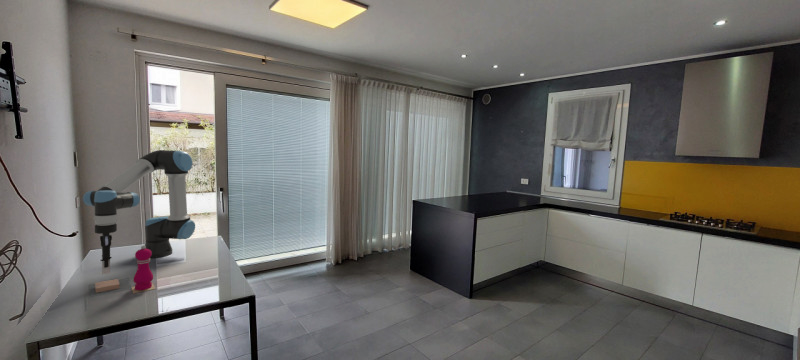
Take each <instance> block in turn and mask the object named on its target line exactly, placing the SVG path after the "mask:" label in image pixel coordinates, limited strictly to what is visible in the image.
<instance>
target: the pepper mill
mask: <svg viewBox="0 0 800 360" xmlns="http://www.w3.org/2000/svg"><path fill="white" fill-rule="evenodd" d="M145 248H146V246H145V245H142V246H141V247H140V249H138V250H137V251H136V252H135V253H134V257H135V258H136V264H137V269H136V272H135V273H134V277H133V280H132V281H133V283H134V284H135V285H134V286H135V290H145V289H148V288H151V287H152V283H153V282H152V281H153V279H154V274H153V272H152V271H151V268H150V262H151V258H150V257H151V255H152V252H151V250H149V249H145Z"/></svg>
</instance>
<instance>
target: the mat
mask: <svg viewBox="0 0 800 360" xmlns="http://www.w3.org/2000/svg"><path fill="white" fill-rule="evenodd" d="M118 280H119V284H120V288H119V289H114V290H109V291H103V292H98V293H96V291H95V283H92V284H88V292H89V293H88V296H89V298H93V297H99V296H104V295H108V294H114V293H120V292H124V291H128V290H132V288H131V287H132V286H131V283H130V280H129V277H127V278H121V279H118Z"/></svg>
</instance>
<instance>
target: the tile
mask: <svg viewBox="0 0 800 360" xmlns="http://www.w3.org/2000/svg"><path fill="white" fill-rule="evenodd" d="M119 280H120V279H119V278H117V279H116V278H115V279H109V280H104V281H103V280H102V281H98V282H94V284H95V291H96V293H98V292H103V291H109V290H114V289H119V288H120V284H119Z"/></svg>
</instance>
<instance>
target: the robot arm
mask: <svg viewBox="0 0 800 360" xmlns="http://www.w3.org/2000/svg"><path fill="white" fill-rule="evenodd" d="M192 167H193V159H192V157H191V155H190V154H189V153H188V152H187V151H181V150H164V149H159V150H154V151H151V152H148V153H146V154H144V155H142V156H141V157H140V158H138V159H137V160H136V161H135V164H134V165H132V166H130V167H128V168H127V169H126V170H125V171H123V172H122V173H120V174H119V175H117V176H116V177H115V178H113V179H112V180H110V181H109V182H107V183H106V184H105V185H103V186H102V187H100V188H98V189H97V190H89V191H87V192H85V193H84V194H83V197H82V201H83V204H84V205H86V206H90V207H94V217H92V219H93V220H94V224H95V225H94V233H95V234H98V235H99V234H101V235H100V236H99V239H100V247H101V250H102V251H101V259H100V262H101V264H102V265H101V274H102V275H108V274H111V259H113V257H112V256H111V246H112V240H113V236H112V234H111V233H116V232H117V229H118V224H117V222H118V214H117V212H118V211H117V210H121V209H122V210H123V209H128V208H132V207H133V208H134V207H136V206H138V205H139V204H140V201H141V198H140V196H139V194H138V193H136V192H133V191H127V192H125V191H126V190H128V189H129V188H130V187H132V185H134V184H136V183H137V182H139V180H141V179H142V178H143V177H145V176H146V175H147V174H151V173H153V172H155V171H159V170H163V171H164V175H166V176H167V183H168V184H167V185H168V186H167V187H168V199H169V200H168V202H169V216H168V215H164V216H154V217H151V218H148V219H146V220H145V226H144V227H145V229H144V233H145V236H144V238H145V243H144V246H146V248H145V249H149V250H151V252H152V255H151V257H150V259H152V258H153V259H157V258H162V257H167V256H169V255H172V254H173V247H172V244H171V243H170V239H171V240H187V239H190V238H191V237H192V235H193V234H194V232H195V231H196V230H195V229H196V223H195V221H194V220H191V216H190V215H189V214H188V208H187V207H188V205H187V204H188V203H187V184H186V176H187V175H188V174H189V171H190V170H191V169H192Z"/></svg>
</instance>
